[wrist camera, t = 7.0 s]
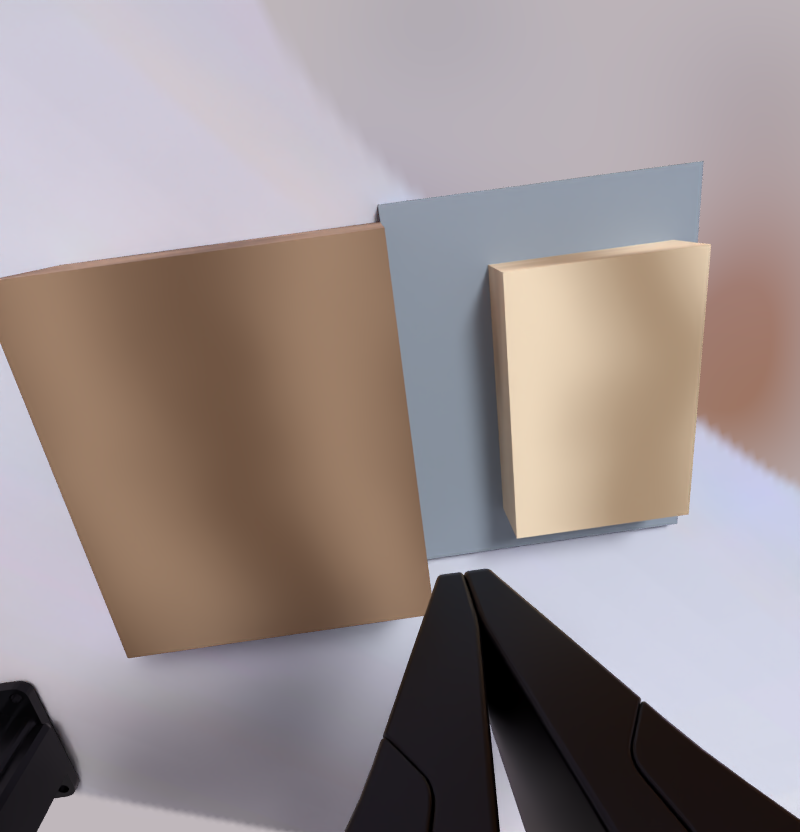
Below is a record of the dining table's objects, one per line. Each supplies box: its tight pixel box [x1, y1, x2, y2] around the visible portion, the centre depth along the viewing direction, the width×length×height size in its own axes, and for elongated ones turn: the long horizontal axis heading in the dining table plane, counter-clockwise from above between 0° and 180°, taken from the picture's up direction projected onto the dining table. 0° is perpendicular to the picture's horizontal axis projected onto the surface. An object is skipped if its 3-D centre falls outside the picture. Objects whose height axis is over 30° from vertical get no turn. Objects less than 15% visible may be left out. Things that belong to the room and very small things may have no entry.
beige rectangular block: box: [488, 240, 711, 539], centre depth 18 cm, size 6×9×2 cm, turn 7°
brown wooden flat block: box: [0, 222, 432, 658], centre depth 17 cm, size 10×12×4 cm
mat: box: [378, 161, 703, 559], centre depth 19 cm, size 10×13×1 cm
